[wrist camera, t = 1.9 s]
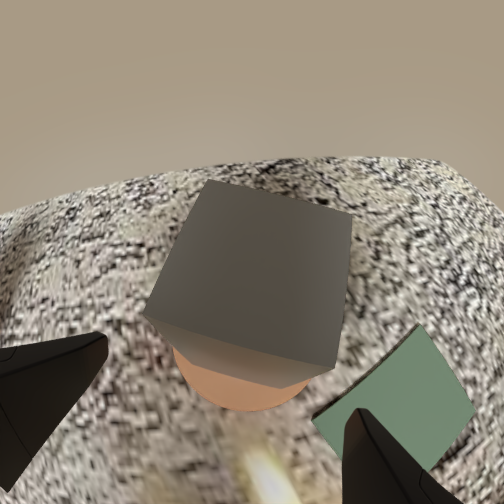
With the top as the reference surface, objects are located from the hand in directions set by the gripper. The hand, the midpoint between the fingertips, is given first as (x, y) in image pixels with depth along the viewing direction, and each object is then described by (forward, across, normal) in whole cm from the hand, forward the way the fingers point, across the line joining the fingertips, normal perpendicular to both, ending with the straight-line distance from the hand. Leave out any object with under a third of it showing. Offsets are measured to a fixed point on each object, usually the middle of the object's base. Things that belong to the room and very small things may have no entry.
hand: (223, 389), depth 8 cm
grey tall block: (+10, 0, +4) cm, 11 cm away
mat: (+8, -15, +8) cm, 19 cm away
